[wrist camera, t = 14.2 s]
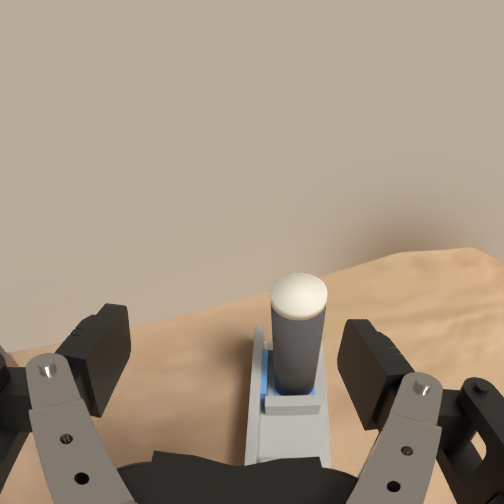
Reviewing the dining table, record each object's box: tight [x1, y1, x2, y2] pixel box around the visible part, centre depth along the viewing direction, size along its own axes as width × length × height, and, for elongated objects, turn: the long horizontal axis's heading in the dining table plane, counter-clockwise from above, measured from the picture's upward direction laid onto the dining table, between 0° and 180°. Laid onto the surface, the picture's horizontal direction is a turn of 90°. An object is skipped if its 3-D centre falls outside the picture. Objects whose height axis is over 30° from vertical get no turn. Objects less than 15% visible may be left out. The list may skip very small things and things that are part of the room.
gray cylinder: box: [270, 273, 327, 396], centre depth 29 cm, size 4×4×14 cm
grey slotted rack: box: [244, 326, 331, 469], centre depth 27 cm, size 8×26×4 cm, turn 177°
